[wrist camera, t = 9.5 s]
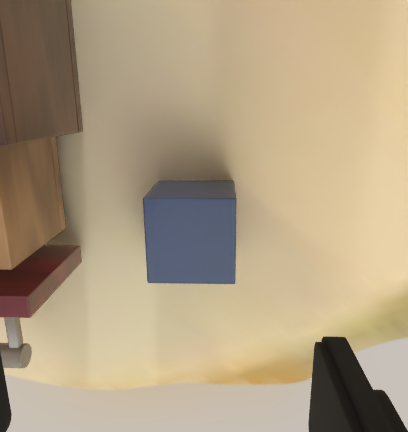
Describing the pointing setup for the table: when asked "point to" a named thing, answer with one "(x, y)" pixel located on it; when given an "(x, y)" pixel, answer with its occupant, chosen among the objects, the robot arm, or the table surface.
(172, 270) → the block
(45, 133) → the cabinet
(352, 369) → the robot arm
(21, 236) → the drawer
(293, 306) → the table surface
